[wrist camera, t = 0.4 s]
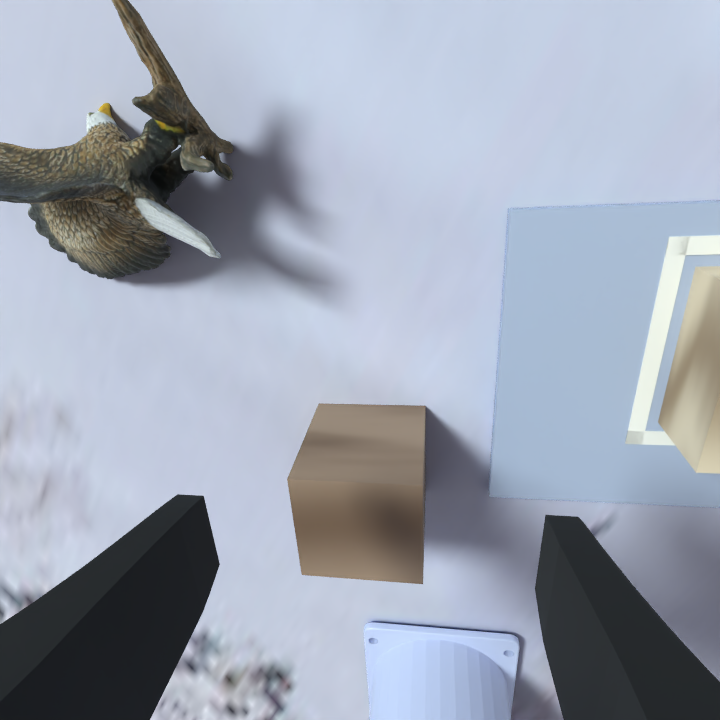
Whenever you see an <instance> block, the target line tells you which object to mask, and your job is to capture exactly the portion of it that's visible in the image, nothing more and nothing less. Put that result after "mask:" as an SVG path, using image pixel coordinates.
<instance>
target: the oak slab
mask: <svg viewBox="0 0 720 720" xmlns="http://www.w3.org/2000/svg"><path fill="white" fill-rule="evenodd" d="M658 423H659V424H660V426H661V427H662V428H663V430H664V431H665V432H666V434H667V435H668V436H669V438H670V439H671V440H672V442H673V443H674V444H675V446H676V447H677V448H678V450H679V451H680V452H681V454H682V455H683V456H684V457H685V459H686V460H687V461H688V463H689V464H690V465H691V467H692V468H693V469H694V471H695V472H696V473H717V474H720V266H703V267H695V271H694V275H693V279H692V283H691V287H690V291H689V295H688V300H687V304H686V308H685V312H684V316H683V320H682V324H681V329H680V333H679V337H678V341H677V345H676V349H675V353H674V358H673V362H672V366H671V370H670V374H669V378H668V382H667V386H666V391H665V395H664V399H663V403H662V407H661V411H660V415H659V420H658Z"/></svg>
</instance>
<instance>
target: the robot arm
mask: <svg viewBox="0 0 720 720" xmlns="http://www.w3.org/2000/svg"><path fill="white" fill-rule="evenodd" d="M219 565H220V564H219V560H218V555H217V551H216V547H215V543H214V538H213V534H212V530H211V526H210V521H209V517H208V513H207V509H206V504H205V500H204V496H195V495H176V496H175V497H174V498H172V499H171V500H169V501H168V502H167V503H165V504H164V505H163V506H161V507H160V508H159V509H158V510H156V511H155V512H154V513H152V514H151V515H150V516H149V517H147V518H146V519H145V520H143V521H142V522H141V523H140V524H138V525H137V526H136V527H134V528H133V529H132V530H131V531H129V532H128V533H127V534H126V535H124V536H123V537H122V538H120V539H119V540H118V541H116V542H115V543H114V544H113V545H111V546H110V547H109V548H107V549H106V550H105V551H103V552H102V553H101V554H100V555H98V556H97V557H96V558H94V559H93V560H92V561H90V562H89V563H88V564H86V565H85V566H84V567H82V568H81V569H79V570H78V571H77V572H75V573H74V574H72V575H71V576H70V577H68V578H67V579H66V580H64V581H63V582H61V583H60V584H59V585H57V586H56V587H54V588H53V589H52V590H50V591H49V592H47V593H46V594H45V595H43V596H42V597H40V598H39V599H38V600H36V601H35V602H33V603H32V604H30V605H29V606H27V607H26V608H24V609H23V610H21V611H20V612H18V613H17V614H15V615H14V616H12V617H11V618H9V619H8V620H6V621H5V622H3V623H2V624H0V720H150V718H151V716H152V714H153V712H154V710H155V708H156V706H157V704H158V702H159V700H160V698H161V696H162V694H163V692H164V690H165V688H166V686H167V684H168V682H169V680H170V678H171V676H172V674H173V672H174V670H175V668H176V666H177V664H178V662H179V660H180V658H181V656H182V654H183V652H184V650H185V648H186V646H187V644H188V641H189V639H190V637H191V635H192V633H193V631H194V629H195V627H196V625H197V623H198V621H199V619H200V617H201V614H202V612H203V610H204V607H205V605H206V602H207V599H208V597H209V594H210V591H211V588H212V585H213V582H214V579H215V576H216V573H217V570H218V567H219ZM535 591H536V598H537V604H538V611H539V618H540V624H541V630H542V636H543V642H544V646H545V650H546V654H547V658H548V662H549V666H550V670H551V673H552V677H553V681H554V685H555V689H556V692H557V696H558V700H559V704H560V707H561V711H562V715H563V718H564V720H720V682H719V681H718V680H717V679H716V678H715V676H714V675H713V674H712V673H711V672H710V671H709V670H708V669H707V668H706V667H705V666H704V665H703V664H702V663H701V662H700V661H699V660H698V658H697V657H696V656H695V655H694V654H693V653H692V652H691V651H690V650H689V649H688V648H687V647H686V646H685V645H684V643H683V642H682V641H681V640H680V639H679V638H678V637H677V636H676V635H675V633H674V632H673V631H672V630H671V629H670V628H669V627H668V626H667V625H666V623H665V622H664V621H663V620H662V619H661V618H660V616H659V615H658V614H657V613H656V612H655V611H654V609H653V608H652V607H651V606H650V605H649V604H648V602H647V601H646V600H645V599H644V598H643V597H642V595H641V594H640V593H639V592H638V591H637V590H636V588H635V587H634V586H633V585H632V584H631V582H630V581H629V580H628V579H627V577H626V576H625V575H624V574H623V573H622V571H621V570H620V569H619V568H618V566H617V565H616V564H615V563H614V561H613V560H612V559H611V558H610V556H609V555H608V554H607V552H606V551H605V550H604V549H603V547H602V546H601V545H600V543H599V542H598V541H597V540H596V538H595V537H594V536H593V534H592V533H591V532H590V530H589V529H588V528H587V526H586V525H585V524H584V523H583V521H582V520H581V519H580V518H579V517H571V516H553V515H546V516H545V523H544V530H543V537H542V544H541V551H540V558H539V565H538V572H537V579H536V586H535ZM364 644H365V656H366V668H367V681H368V693H369V705H370V716H369V720H511V711H512V703H513V695H514V687H515V679H516V671H517V664H518V656H519V648H520V647H519V641H518V638H517V637H516V636H514V635H511V634H503V633H491V632H480V631H468V630H457V629H445V628H433V627H422V626H410V625H399V624H387V623H376V622H370V623H367V624H366V625H365V627H364Z"/></svg>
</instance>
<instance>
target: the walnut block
mask: <svg viewBox="0 0 720 720" xmlns="http://www.w3.org/2000/svg"><path fill="white" fill-rule="evenodd" d="M287 480H288V487H289V493H290V500H291V507H292V513H293V520H294V526H295V533H296V540H297V546H298V553H299V559H300V566H301V572H302V575H311V576H324V577H337V578H350V579H363V580H376V581H389V582H402V583H415V584H423V563H424V525H425V406H408V405H360V404H319V405H318V407H317V409H316V412H315V414H314V416H313V419H312V421H311V424H310V426H309V428H308V431H307V433H306V436H305V438H304V440H303V443H302V445H301V448H300V450H299V452H298V455H297V457H296V460H295V462H294V464H293V467H292V469H291V472H290V474H289V476H288V479H287Z"/></svg>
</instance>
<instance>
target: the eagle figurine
mask: <svg viewBox="0 0 720 720" xmlns="http://www.w3.org/2000/svg"><path fill="white" fill-rule="evenodd" d="M112 2H113V4H114V6H115V7H116V9H117V11H118V14H119V16H120V19H121V21H122V24H123V26H124V28H125V30H126V32H127V34H128V36H129V38H130V39H131V41H132V43H133V44H134V46H135V48H136V50H137V53H138V55H139V56H140V58H141V61H142V62H143V63H144V64H145V65H146V67H147V68H148V70H149V71H150V74H151V76H152V83H153V87H154V88H153V90H152V91H151V92H150V93H149V94H148V95H146V96H142V97H135V98H134V99H133V100H132V102H133V104H134V105H135V106H136V107H138V108H139V109H141V110H142V111H143V112H145V113H147V114H148V115H150V116H151V117H152V119H150V120H149V121H148V122H147V123H146V124H145V126H144V130H143V133H142V134H141V136H140V137H137V138H135V139H133V140H132V141H131V139H130V138H129V137H128V136H127V134H126V133H125V132H124V131H123V130H122V129H121V128H119V127H118V126H117V125H116V123H115V121H114V119H113V118H112V116H111V112H110V106H111V105H110V104H109V103H105V104H103V105H102V106H101V107H100V109H99V110H98V111H97V112H96V113H88V114H87V125H86V127H87V135H86V136H85V137H83V138H82V139H81V140H80V141H79V142H77V143H76V144H74V145H71V146H66V147H59V148H55V149H30V148H25V147H20V146H16V145H13V144H8V143H1V142H0V201H7V202H14V203H30V204H31V207H30V208H29V210H28V215H29V217H30V218H31V219H32V220H34V221H35V222H36V225H35V227H36V230H37V231H38V233H39V234H41V235H43V236H45V237H46V238H48V239H49V244H50V246H51V247H52V248H53V249H55V250H57V251H60V252H66V254H67V257H68V259H69V260H70V261H71V262H75V263H78V264H79V266H80V268H81V269H83V270H84V271H87V272H89V273H91V274H96V275H97V276H98V277H102V278H104V277H106V278H107V279H113V278H114V277H124V276H125V274H128V275H129V274H132V273H138V272H140V271H141V270H150V269H153V268H157V267H158V266H159V265H161V264H163V263H164V260H165V259H166V258H169V257H170V255H171V254H170V250H171V248H170V247H169V246H168V245H167V244H166V242H167V238H166V236H165V235H163V234H162V233H166V234H168V235H170V236H172V237H175V238H177V239H179V240H181V241H183V242H185V243H187V244H190V245H192V246H194V247H196V248H198V249H200V250H201V251H203V252H204V253H205V254H207V255H208V256H210V257H216V258H220V257H221V254H220V253H219V252H218V251H217V250H216V249H215V248H214V247H213V245H212V243H211V242H210V240H209V239H208V238H207V237H206V235H204V234H203V233H202V232H200V231H198V230H196V229H195V228H194V227H192V226H191V225H190V224H188V223H187V222H186V221H184V220H183V219H182V218H181V217H180V216H178V215H176V214H175V213H174V212H173V211H172V209H171V208H170V207H169V206H168V205H167V204H165V203H166V201H167V199H168V198H169V196H170V193H171V192H173V191H174V190H175V189H176V187H178V186H179V185H180V184H181V183H182V181H183V180H184V179H185V178H186V177H187V175H188V174H190V173H193V172H194V171H199V172H211V171H213V170H214V171H215V172H216V174H218V175H219V176H221V177H222V178H224V179H226V180H229V181H230V180H232V178H233V174H232V170H231V168H230V167H229V166H228V165H226V164H224V163H222V162H221V160H220V156H219V153H222V152H224V153H229V154H230V153H232V152H233V145H232V144H231V143H230V142H228V141H226V140H223V139H221V138H219V137H218V136H217V135H216V134H215V133H214V132H213V131H212V130H211V129H210V128H209V126H208V125H207V123H206V122H205V120H204V119H203V117H202V116H201V115H200V114H199V113H198V111H197V110H196V109H195V107H194V106H193V105H192V103H191V102H190V100H189V99H188V97H187V95H186V93H185V91H184V89H183V87H182V85H181V83H180V82H179V80H178V78H177V76H176V74H175V73H174V71H173V69H172V68H171V66H170V64H169V63H168V61H167V60H166V58H165V56H164V55H163V53H162V51H161V50H160V48H159V46H158V45H157V43H156V41H155V40H154V38H153V36H152V35H151V33H150V32H149V30H148V28H147V26H146V25H145V23H144V21H143V19H142V18H141V16H140V14H139V13H138V12H137V11H136V9H135V8H134V7H133V6H132V5H131V3H130V2H129V1H128V0H112ZM178 145H181V147H180V148H179V149H178V150H176V151H174V152H173V153H171V152H172V151H173V150H175V149H176V148H177V147H178ZM200 156H204V157H205V158H206V159H203V158H200Z"/></svg>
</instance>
